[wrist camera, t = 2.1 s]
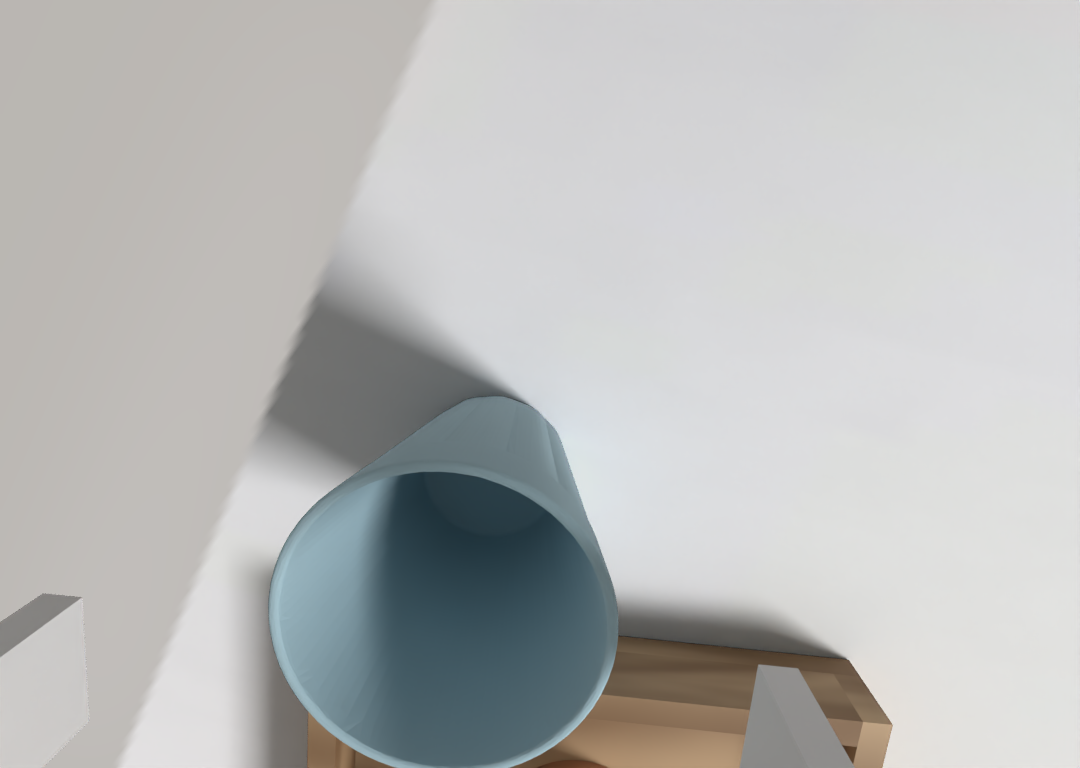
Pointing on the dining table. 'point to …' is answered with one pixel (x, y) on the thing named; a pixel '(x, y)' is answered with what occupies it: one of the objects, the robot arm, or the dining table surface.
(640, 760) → the divided wooden tray
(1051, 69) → the dining table surface
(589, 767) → the tan rounded piece
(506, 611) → the cup
